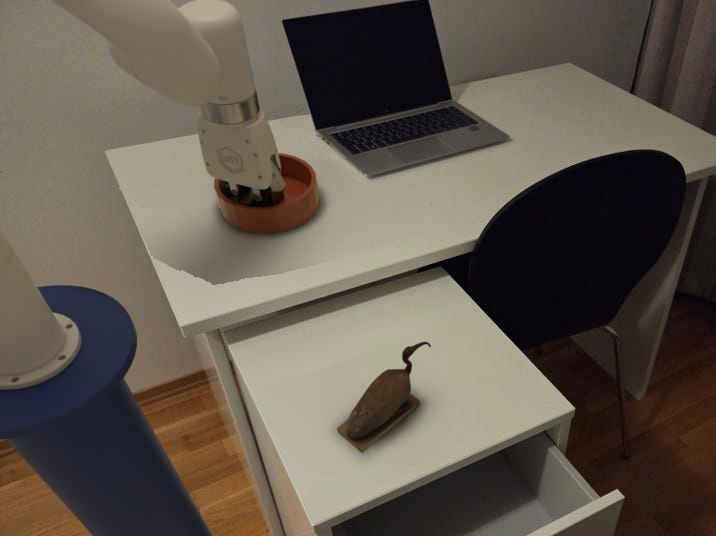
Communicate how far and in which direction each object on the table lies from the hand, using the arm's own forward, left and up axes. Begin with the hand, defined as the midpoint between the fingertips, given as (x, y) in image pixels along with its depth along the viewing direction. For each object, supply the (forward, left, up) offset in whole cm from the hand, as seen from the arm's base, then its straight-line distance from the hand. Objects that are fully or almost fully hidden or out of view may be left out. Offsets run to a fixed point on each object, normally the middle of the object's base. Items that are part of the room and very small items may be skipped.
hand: (256, 214), depth 100 cm
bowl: (0, +4, -1) cm, 4 cm away
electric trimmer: (-8, +6, -1) cm, 11 cm away
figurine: (+33, -27, -1) cm, 43 cm away
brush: (0, +2, 0) cm, 3 cm away
